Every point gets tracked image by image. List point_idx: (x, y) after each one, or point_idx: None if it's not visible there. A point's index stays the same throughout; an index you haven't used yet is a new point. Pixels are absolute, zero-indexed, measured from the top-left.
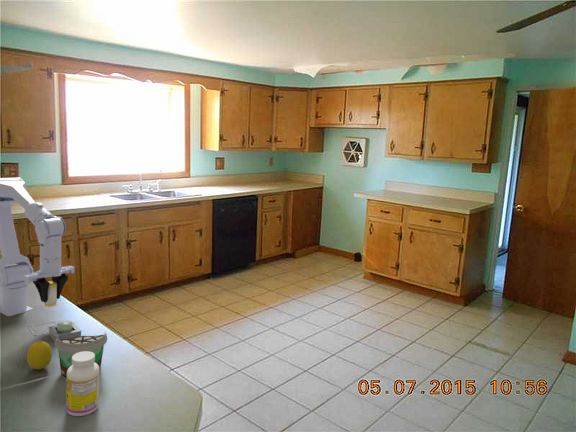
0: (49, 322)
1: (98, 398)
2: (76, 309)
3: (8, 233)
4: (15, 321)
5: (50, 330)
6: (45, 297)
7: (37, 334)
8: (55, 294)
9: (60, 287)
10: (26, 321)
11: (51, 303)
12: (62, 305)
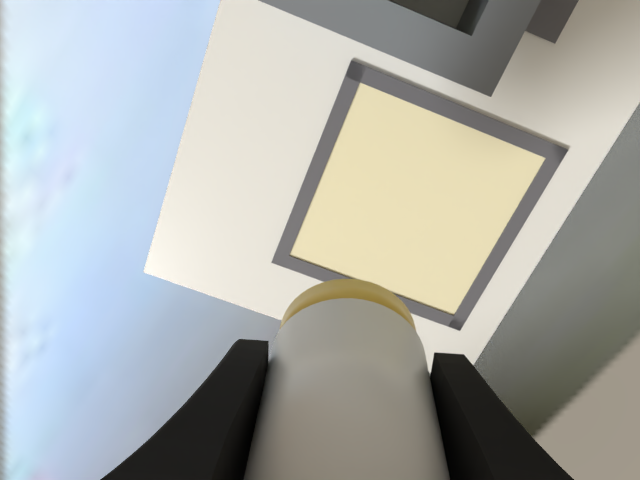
0: (314, 275)
1: None
2: (12, 340)
3: None
4: None
5: (524, 23)
6: (493, 397)
7: (532, 150)
8: (319, 381)
9: (197, 461)
10: None
11: (384, 306)
12: (60, 456)
